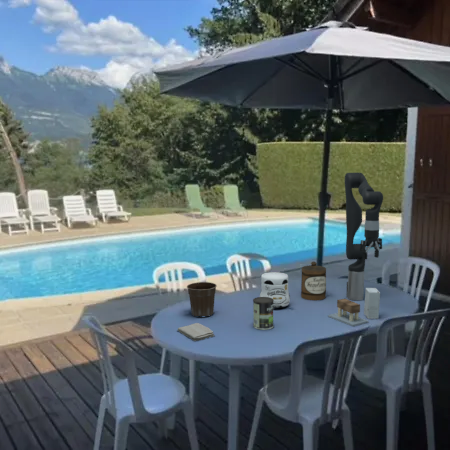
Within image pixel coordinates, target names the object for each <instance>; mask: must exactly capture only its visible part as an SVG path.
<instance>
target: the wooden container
mask: <svg viewBox="0 0 450 450" xmlns="http://www.w3.org/2000/svg"><path fill="white" fill-rule="evenodd" d="M317 264H318V263H317V262H316V261H311V262H310V265H304V266H302V267H301V283H300V290H301V292H300V297H301V298H302V299H304V300H307V301H323V300H325V299H326V298H327V268H326V267H324V266H323V265H317Z"/></svg>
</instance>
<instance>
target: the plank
mask: <svg viewBox="0 0 450 450" xmlns="http://www.w3.org/2000/svg"><path fill="white" fill-rule="evenodd" d="M336 307H337V309H338V308H340V309H342V311H343V310H345V311H347V313H349V314H350V313H351V314H353V313H354V314H355V313H358V312H359V313H360V312H361V304H359V303H357V302H355V301H353V300H350V299H348V298H340V299H337V301H336Z"/></svg>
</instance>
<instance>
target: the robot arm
mask: <svg viewBox="0 0 450 450" xmlns="http://www.w3.org/2000/svg"><path fill="white" fill-rule="evenodd" d="M353 189H358V194H359V195H360V196H361V197H362V202H363V204H365V205H369V206H370V205H371V206H373V207H371V208H369V209H366V210H365V216H364V217H365V220H364V221H365V222H364V235H363V236H364V238H365V240H363V239H360V243H354V239H355V235H356V233H357V232H358V230H359V229H360V227H361V225H362V222H363V210H362V207H361V205H360V204H359V203H358V201H357V200H356V198H355V196H354V193H353ZM344 192H345V222H346V223H345V224H346V226H345V227H346V239H345V240H346V241H345V243H346V244H345V255H346V258H347V259H348V260H351V261H352V260H356V261H355V262H353V263H350V264H348V268H347V269H348V273H347V275H348V276H347V281H346V293H345V295H346V299H347V300H350V301H362V300H364V298H365V295H364V294H365V267H366V260H367V259H368V251H369V250H370V249H371V248H374V249H373V250H374V257H375V258H379V256H380V254H379V253H380V250H382V249H383V238H381V237H380V211H381V207H382V205H383V202H384V194H383V193H382V191H375V190H374V189H373V187H372V186H371V185H369V183H368V180H367V178H366V176H365V175H364V173H362V172H347V173H345V175H344Z"/></svg>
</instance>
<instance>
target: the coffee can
mask: <svg viewBox="0 0 450 450" xmlns="http://www.w3.org/2000/svg"><path fill="white" fill-rule="evenodd" d="M273 301H274V300H273V299H272V298H269V297H260V296H258V297H254V298H253V299H252V302H253V306H252V307H253V311H252V312H253V319H252V321H253V328H254V329H257V330H260V331H261V330H262V331H265V330H271V329H273V328H274V308H273Z"/></svg>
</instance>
